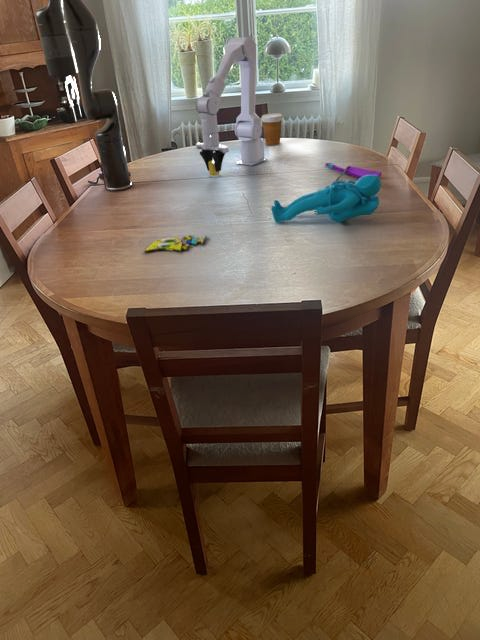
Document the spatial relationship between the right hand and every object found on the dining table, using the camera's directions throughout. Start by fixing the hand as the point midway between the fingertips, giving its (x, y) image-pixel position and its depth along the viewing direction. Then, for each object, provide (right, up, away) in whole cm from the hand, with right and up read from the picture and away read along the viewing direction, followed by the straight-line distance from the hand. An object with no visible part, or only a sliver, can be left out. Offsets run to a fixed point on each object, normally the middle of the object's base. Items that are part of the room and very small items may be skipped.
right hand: (214, 170), depth 180 cm
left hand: (-37, 0, -45) cm, 58 cm away
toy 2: (+34, -28, -43) cm, 61 cm away
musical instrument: (+47, -6, -11) cm, 49 cm away
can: (0, -1, +1) cm, 1 cm away
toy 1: (-8, -36, -50) cm, 62 cm away
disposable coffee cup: (+25, +24, +38) cm, 51 cm away
